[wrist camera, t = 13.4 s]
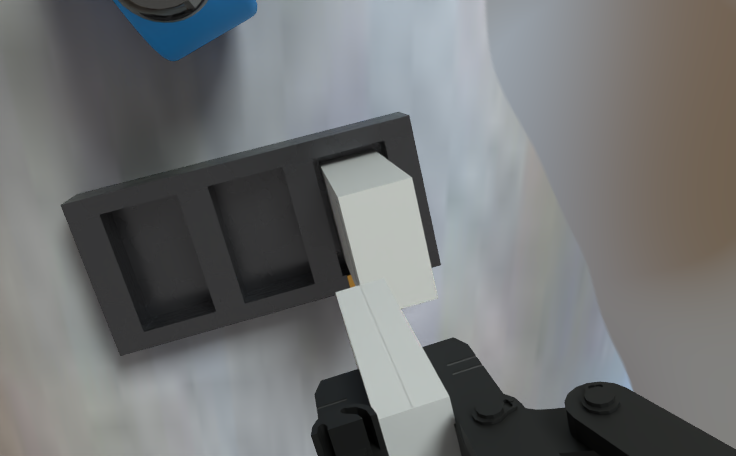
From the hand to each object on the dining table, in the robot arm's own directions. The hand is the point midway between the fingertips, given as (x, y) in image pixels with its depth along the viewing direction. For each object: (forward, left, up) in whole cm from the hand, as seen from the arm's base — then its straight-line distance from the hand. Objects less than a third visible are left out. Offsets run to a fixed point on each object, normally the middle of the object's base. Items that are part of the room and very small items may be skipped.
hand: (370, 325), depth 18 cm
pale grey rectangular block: (+3, +3, -26) cm, 26 cm away
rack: (+3, -4, -26) cm, 27 cm away
